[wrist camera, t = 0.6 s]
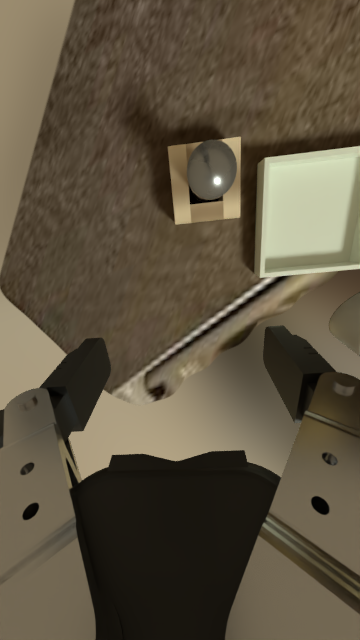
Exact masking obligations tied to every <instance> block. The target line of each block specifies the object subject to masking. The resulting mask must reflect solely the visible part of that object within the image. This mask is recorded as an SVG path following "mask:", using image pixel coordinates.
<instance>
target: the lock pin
mask: <svg viewBox="0 0 360 640" xmlns="http://www.w3.org/2000/svg"><path fill="white" fill-rule="evenodd" d="M236 173H237V161H236V157H235V155H234V152H233V151H232V149H231V148H230V147H229V146H228V145H227V144H226V143H224V142H222V141H219V140H207V141H205V142H203V143H201V144H200V145H198V146H197V147H196V148H195V149H194V151H193V152H192V154H191V155H190V158H189V161H188V165H187V180H188V183H189V186H190V188H191V190H192V192H193V195H194V197H195V198H196V199H197V200H199V201H207V200H213V199H217V198H219V197H221V196H222V195H224V194H225V193H226V192H227V191H228V190H229V189H230V188H231V186H232V185H233V183H234V180H235V178H236Z"/></svg>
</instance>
